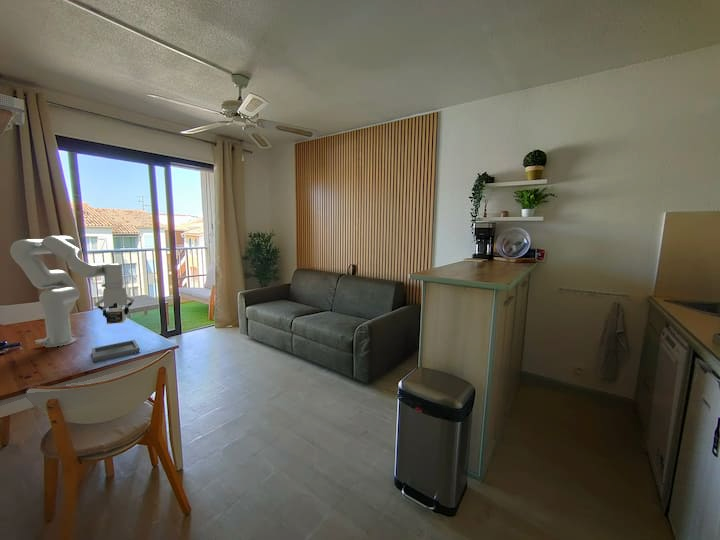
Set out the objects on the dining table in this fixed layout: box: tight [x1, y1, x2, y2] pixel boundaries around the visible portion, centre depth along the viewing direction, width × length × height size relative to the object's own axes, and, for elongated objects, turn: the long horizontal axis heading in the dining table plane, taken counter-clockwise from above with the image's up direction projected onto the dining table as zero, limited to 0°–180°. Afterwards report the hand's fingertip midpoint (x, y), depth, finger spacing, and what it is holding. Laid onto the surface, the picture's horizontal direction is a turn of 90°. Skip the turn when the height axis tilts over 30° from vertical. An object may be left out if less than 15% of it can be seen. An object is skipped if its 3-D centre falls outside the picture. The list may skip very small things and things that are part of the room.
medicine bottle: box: [105, 303, 127, 325], centre depth 163 cm, size 7×7×12 cm
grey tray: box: [91, 339, 140, 363], centre depth 152 cm, size 18×16×2 cm
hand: (116, 315), depth 163 cm, fingers closed on medicine bottle, 8 cm apart
